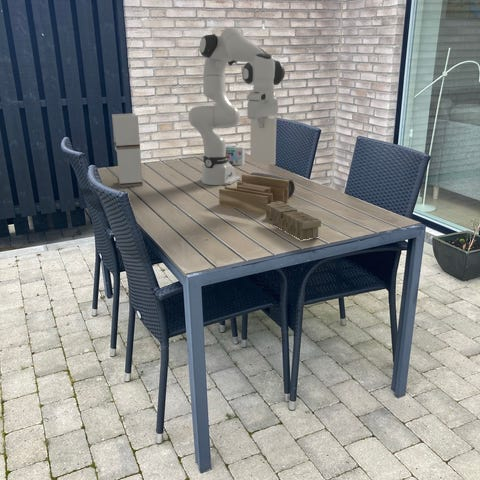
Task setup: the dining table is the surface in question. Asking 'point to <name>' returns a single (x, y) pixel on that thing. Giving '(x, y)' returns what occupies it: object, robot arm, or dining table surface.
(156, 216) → the dining table surface
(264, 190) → the offcut top
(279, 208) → the block tower
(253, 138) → the white rectangular panel
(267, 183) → the rack
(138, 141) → the grey stacked pillar
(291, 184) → the bluetooth speaker
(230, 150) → the light bulb box
